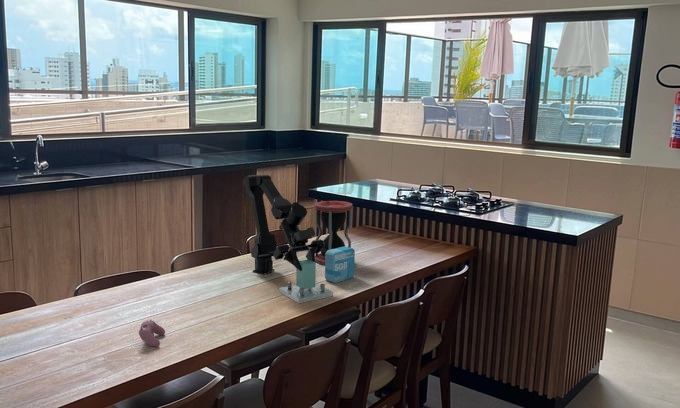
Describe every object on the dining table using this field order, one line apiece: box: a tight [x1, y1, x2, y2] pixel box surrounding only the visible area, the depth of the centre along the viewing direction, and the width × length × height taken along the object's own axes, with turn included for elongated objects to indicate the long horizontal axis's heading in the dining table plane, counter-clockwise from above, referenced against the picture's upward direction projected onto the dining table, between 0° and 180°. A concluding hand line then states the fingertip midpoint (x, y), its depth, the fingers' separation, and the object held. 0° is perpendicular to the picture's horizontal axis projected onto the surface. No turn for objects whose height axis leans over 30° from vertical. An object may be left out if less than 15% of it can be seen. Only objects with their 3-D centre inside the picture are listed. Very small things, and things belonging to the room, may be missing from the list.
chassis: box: [278, 281, 334, 304], centre depth 217 cm, size 14×14×4 cm
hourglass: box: [314, 200, 353, 266], centre depth 259 cm, size 16×16×25 cm
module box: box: [295, 259, 317, 289], centre depth 216 cm, size 5×5×9 cm
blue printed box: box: [324, 245, 356, 284], centre depth 235 cm, size 12×4×12 cm, turn 136°
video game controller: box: [138, 319, 166, 348], centre depth 174 cm, size 10×5×7 cm, turn 6°
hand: (307, 269), depth 215 cm, fingers closed on module box, 5 cm apart
